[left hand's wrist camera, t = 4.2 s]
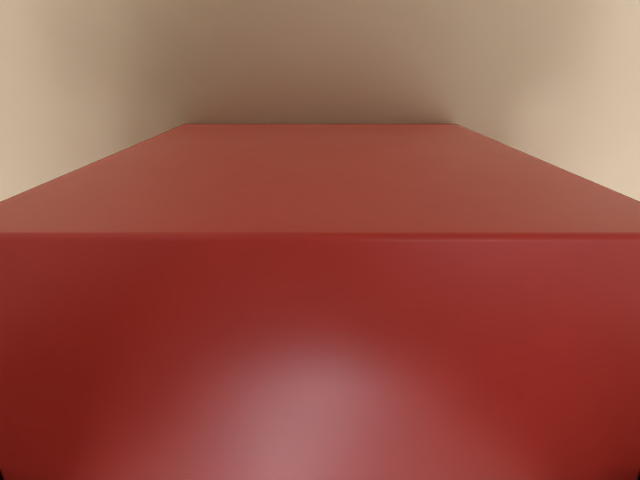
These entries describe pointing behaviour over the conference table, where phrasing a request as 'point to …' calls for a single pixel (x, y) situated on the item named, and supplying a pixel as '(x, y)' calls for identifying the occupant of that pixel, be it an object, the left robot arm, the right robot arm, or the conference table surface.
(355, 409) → the block
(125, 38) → the conference table surface
